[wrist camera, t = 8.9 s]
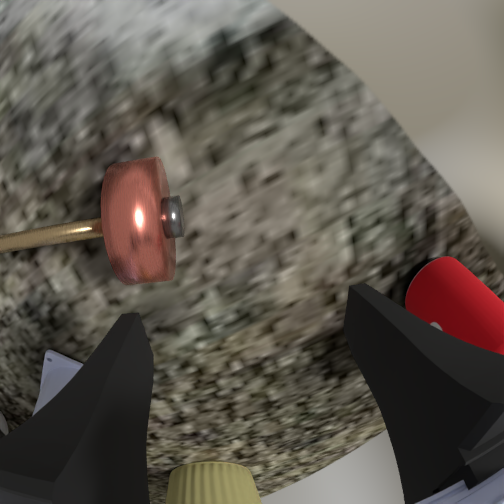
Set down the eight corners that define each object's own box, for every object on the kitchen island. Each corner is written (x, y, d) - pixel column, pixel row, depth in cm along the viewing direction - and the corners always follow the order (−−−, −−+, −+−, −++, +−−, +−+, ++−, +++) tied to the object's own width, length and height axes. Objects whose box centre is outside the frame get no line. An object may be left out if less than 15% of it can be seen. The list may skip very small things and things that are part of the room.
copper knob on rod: (-21, 271, 18) (-60, 319, 13) (-46, 198, 15) (-97, 235, 10) (191, 243, 19) (188, 304, 14) (177, 144, 17) (165, 171, 11)
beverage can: (398, 321, 26) (467, 426, 16) (403, 263, 23) (498, 372, 13) (451, 300, 26) (525, 388, 16) (461, 244, 23) (556, 330, 13)
